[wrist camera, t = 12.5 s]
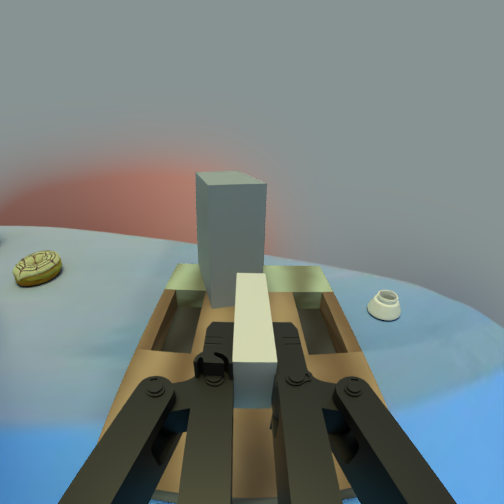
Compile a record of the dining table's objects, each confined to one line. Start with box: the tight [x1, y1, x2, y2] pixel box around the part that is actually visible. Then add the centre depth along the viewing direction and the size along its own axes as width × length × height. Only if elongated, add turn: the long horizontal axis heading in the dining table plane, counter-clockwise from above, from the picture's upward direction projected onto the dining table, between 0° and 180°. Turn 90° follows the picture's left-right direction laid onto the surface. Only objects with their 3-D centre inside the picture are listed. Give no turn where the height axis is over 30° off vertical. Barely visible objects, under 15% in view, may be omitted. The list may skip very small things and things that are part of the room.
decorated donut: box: [13, 250, 62, 287], centre depth 43 cm, size 10×11×4 cm
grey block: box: [196, 171, 267, 309], centre depth 36 cm, size 6×12×14 cm, turn 17°
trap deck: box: [97, 264, 388, 504], centre depth 29 cm, size 22×34×3 cm, turn 1°
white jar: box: [367, 290, 401, 320], centre depth 37 cm, size 5×3×5 cm
